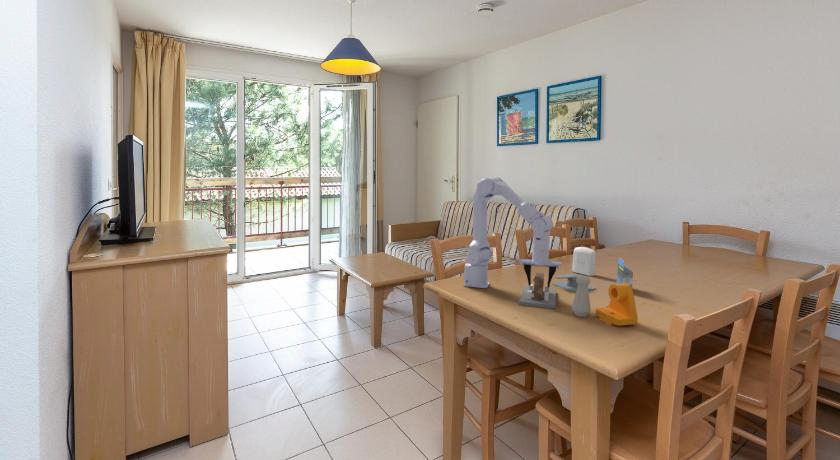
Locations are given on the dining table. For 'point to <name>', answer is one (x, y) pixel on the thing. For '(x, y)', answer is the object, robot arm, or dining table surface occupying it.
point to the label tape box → (624, 274)
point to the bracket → (619, 306)
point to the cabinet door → (538, 286)
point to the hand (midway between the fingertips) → (538, 285)
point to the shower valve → (569, 283)
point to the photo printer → (584, 261)
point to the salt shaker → (582, 297)
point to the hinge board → (546, 302)
